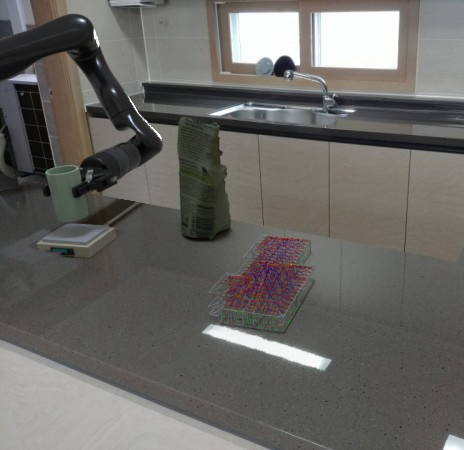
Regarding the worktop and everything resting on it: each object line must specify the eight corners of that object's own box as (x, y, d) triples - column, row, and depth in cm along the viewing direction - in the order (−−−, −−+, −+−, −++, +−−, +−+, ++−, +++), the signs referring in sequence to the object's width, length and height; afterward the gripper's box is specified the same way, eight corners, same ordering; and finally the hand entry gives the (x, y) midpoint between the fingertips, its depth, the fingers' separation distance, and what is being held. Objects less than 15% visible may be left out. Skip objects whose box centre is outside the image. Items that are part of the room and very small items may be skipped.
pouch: (188, 222, 123) (173, 113, 113) (239, 220, 122) (229, 111, 112) (175, 243, 112) (158, 124, 103) (232, 241, 112) (219, 122, 102)
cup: (50, 221, 109) (38, 174, 105) (69, 209, 114) (58, 164, 110) (77, 222, 107) (65, 175, 103) (94, 211, 113) (84, 165, 109)
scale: (37, 255, 110) (33, 241, 109) (69, 234, 119) (66, 221, 118) (88, 259, 107) (85, 245, 106) (117, 237, 116) (114, 224, 115)
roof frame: (261, 244, 110) (259, 220, 108) (332, 251, 106) (332, 226, 104) (191, 324, 84) (187, 295, 82) (282, 338, 79) (280, 308, 77)
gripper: (74, 150, 121) (23, 173, 107) (131, 151, 118) (86, 176, 103) (81, 181, 124) (32, 208, 110) (137, 184, 121) (94, 212, 106)
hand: (59, 192), depth 106 cm, fingers closed on cup, 6 cm apart
